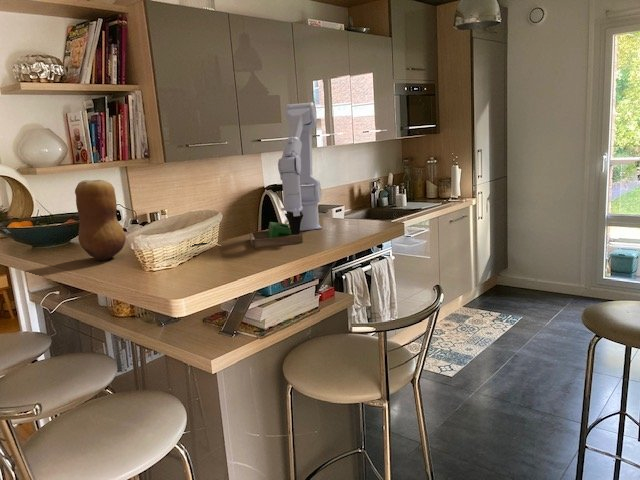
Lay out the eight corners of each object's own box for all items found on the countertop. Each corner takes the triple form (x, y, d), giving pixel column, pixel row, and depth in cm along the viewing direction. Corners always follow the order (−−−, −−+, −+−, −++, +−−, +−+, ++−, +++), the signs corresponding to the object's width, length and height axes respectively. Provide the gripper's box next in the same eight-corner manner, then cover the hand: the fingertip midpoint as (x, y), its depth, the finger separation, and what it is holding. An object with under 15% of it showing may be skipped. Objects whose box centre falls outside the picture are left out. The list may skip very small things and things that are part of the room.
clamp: (286, 255, 168) (292, 232, 163) (268, 253, 167) (273, 230, 162) (284, 235, 178) (289, 213, 173) (267, 233, 176) (271, 210, 172)
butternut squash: (137, 254, 166) (125, 176, 160) (101, 265, 154) (87, 182, 149) (107, 252, 172) (95, 177, 167) (72, 263, 161) (57, 182, 156)
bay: (250, 239, 176) (249, 232, 175) (296, 234, 179) (296, 227, 178) (252, 248, 162) (251, 240, 162) (302, 242, 165) (302, 234, 165)
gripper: (277, 192, 175) (281, 231, 178) (282, 197, 161) (286, 240, 164) (298, 190, 176) (301, 229, 179) (304, 195, 162) (308, 237, 165)
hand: (295, 234), depth 171 cm, fingers closed
